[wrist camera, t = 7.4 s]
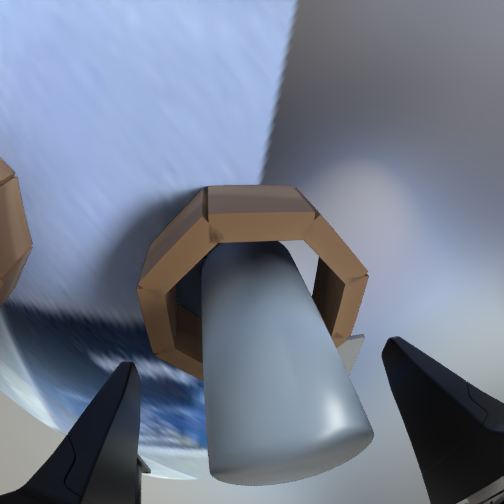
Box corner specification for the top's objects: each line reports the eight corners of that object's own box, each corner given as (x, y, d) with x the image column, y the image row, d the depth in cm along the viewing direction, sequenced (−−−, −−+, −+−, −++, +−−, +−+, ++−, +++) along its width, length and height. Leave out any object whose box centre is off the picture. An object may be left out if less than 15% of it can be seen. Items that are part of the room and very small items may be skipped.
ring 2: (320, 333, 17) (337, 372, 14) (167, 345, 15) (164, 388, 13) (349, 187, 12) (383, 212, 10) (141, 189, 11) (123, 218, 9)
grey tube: (289, 308, 15) (346, 468, 8) (204, 314, 15) (215, 490, 7) (298, 232, 13) (399, 406, 5) (198, 235, 13) (200, 442, 5)
